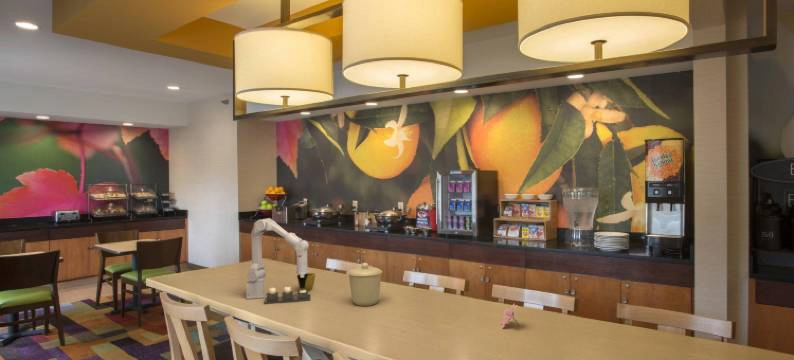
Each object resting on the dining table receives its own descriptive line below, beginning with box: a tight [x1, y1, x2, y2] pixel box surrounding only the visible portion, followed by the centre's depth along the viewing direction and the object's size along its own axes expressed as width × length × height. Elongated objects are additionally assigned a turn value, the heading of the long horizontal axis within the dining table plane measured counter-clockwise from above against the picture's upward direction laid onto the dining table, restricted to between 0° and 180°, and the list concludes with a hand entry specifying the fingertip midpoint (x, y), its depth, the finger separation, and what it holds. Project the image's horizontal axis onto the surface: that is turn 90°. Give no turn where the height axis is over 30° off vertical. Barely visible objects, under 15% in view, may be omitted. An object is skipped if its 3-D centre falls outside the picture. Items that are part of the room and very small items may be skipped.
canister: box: [347, 262, 383, 307], centre depth 236 cm, size 18×18×21 cm
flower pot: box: [297, 272, 316, 292], centre depth 268 cm, size 9×9×9 cm
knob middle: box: [283, 285, 292, 294], centre depth 246 cm, size 4×4×4 cm
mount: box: [263, 290, 312, 305], centre depth 246 cm, size 24×10×4 cm, turn 101°
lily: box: [500, 302, 520, 329], centre depth 196 cm, size 12×12×10 cm
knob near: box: [268, 286, 277, 295], centre depth 244 cm, size 4×4×4 cm
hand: (302, 288), depth 248 cm, fingers closed
